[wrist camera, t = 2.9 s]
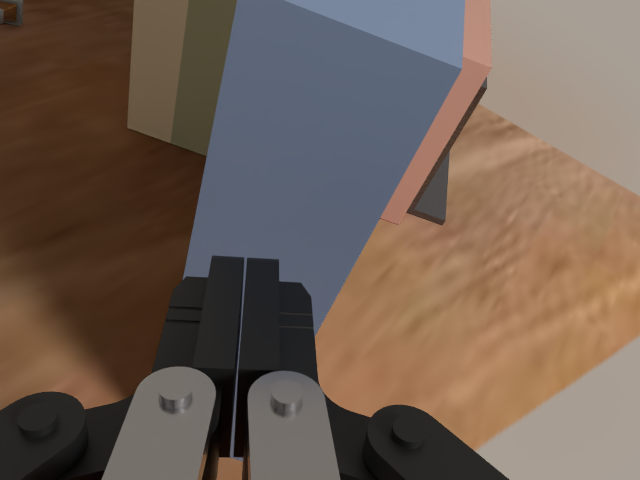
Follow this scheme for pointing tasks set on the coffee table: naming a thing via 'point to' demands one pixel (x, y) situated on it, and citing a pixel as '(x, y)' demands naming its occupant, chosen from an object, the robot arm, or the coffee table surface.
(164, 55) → the book rack
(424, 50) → the blue book
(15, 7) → the brown irregular piece
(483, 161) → the coffee table surface
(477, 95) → the bookend
